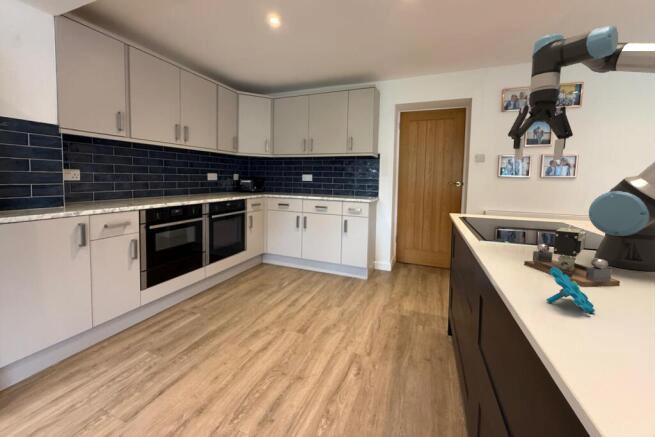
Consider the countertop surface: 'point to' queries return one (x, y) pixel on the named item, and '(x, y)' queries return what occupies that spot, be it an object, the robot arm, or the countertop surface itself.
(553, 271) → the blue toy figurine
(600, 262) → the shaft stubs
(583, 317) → the countertop surface
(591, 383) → the countertop surface
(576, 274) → the brown wooden board
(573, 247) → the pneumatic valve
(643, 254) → the robot arm
